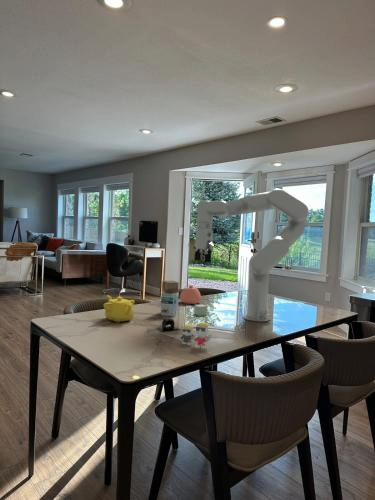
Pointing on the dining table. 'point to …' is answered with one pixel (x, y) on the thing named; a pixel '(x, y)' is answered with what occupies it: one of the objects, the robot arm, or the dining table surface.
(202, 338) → the toy figures
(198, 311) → the cube
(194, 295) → the sugar bowl
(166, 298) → the light bulb box
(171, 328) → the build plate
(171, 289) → the block
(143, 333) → the dining table surface
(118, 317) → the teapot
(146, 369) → the dining table surface
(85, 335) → the dining table surface
